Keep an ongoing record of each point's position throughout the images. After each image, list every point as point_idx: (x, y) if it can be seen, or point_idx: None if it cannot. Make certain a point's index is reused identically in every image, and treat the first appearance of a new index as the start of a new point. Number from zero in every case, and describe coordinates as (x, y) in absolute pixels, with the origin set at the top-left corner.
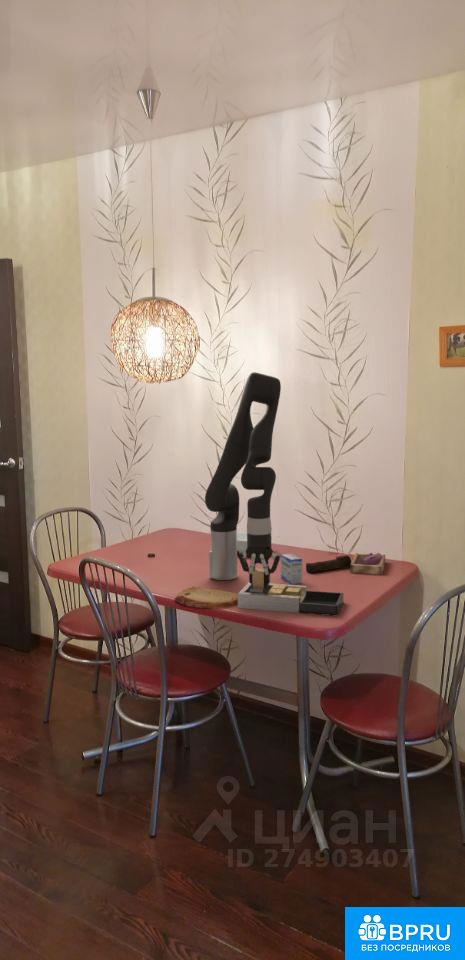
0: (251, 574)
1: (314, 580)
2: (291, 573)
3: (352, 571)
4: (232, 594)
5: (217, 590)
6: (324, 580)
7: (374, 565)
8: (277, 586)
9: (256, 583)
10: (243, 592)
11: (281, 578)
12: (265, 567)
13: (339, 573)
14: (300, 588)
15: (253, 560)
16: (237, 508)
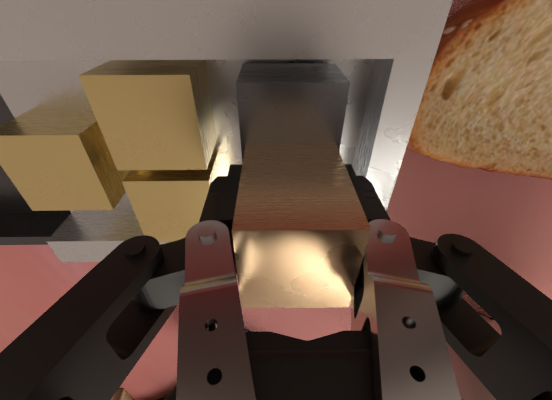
0: (369, 216)
1: None
2: None
3: (117, 393)
4: (449, 142)
5: (539, 169)
6: (153, 352)
7: None
8: (183, 210)
9: (306, 156)
10: (398, 52)
11: None
12: (203, 283)
13: (145, 383)
14: (30, 205)
15: (405, 377)
16: None
